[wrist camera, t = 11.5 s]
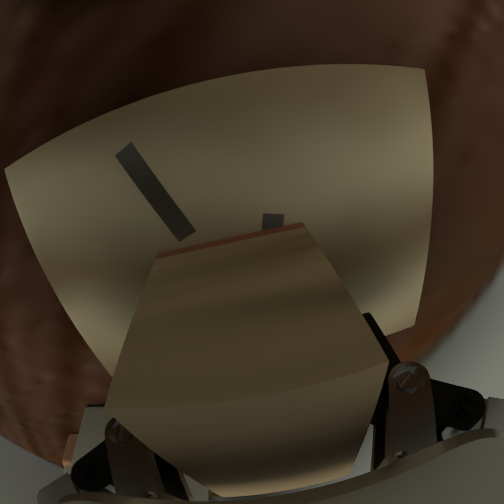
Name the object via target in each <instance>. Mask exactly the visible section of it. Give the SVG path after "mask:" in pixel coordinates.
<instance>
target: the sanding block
mask: <svg viewBox="0 0 504 504" xmlns="http://www.w3.org/2000/svg"><path fill="white" fill-rule="evenodd" d="M388 364H389V360H388V358H387V356H386V355H385V353H384V351H383V349H382V348H381V346H380V344H379V342H378V341H377V339H376V337H375V335H374V334H373V332H372V330H371V329H370V327H369V325H368V323H367V322H366V320H365V318H364V317H363V315H362V313H361V312H360V310H359V308H358V307H357V305H356V304H355V302H354V300H353V299H352V297H351V295H350V294H349V292H348V291H347V289H346V287H345V286H344V284H343V283H342V281H341V280H340V278H339V276H338V275H337V273H336V272H335V270H334V269H333V267H332V266H331V264H330V262H329V261H328V259H327V258H326V256H325V255H324V253H323V252H322V250H321V249H320V247H319V246H318V244H317V243H316V241H315V240H314V238H313V237H312V235H311V234H310V232H309V231H308V230H307V228H306V227H305V225H304V224H303V222H302V223H297V224H292V225H287V226H282V227H278V228H273V229H268V230H263V231H259V232H254V233H249V234H245V235H240V236H235V237H231V238H226V239H222V240H217V241H213V242H208V243H204V244H199V245H195V246H190V247H186V248H182V249H177V250H173V251H168V252H164V253H160V254H158V255H157V257H156V260H155V262H154V264H153V267H152V269H151V271H150V274H149V276H148V279H147V281H146V284H145V286H144V289H143V291H142V294H141V297H140V299H139V302H138V304H137V307H136V310H135V312H134V315H133V318H132V321H131V323H130V326H129V329H128V332H127V335H126V338H125V341H124V343H123V346H122V349H121V352H120V356H119V359H118V362H117V365H116V368H115V371H114V375H113V378H112V381H111V385H110V388H109V392H108V395H107V399H106V403H105V406H104V408H105V409H106V410H107V411H108V412H109V413H110V414H111V415H112V416H113V417H114V418H115V419H116V420H117V421H118V422H119V423H121V424H122V425H123V426H124V427H125V428H126V429H127V430H128V431H129V432H131V433H132V434H133V435H134V436H135V437H136V438H138V439H139V440H140V441H141V442H142V443H144V444H145V445H146V446H147V447H149V448H150V449H151V450H152V451H154V452H155V453H156V454H157V455H159V456H160V457H161V458H163V459H164V460H165V461H167V462H168V463H170V464H171V465H172V466H174V467H175V468H177V469H178V470H180V471H181V472H182V473H184V474H185V475H187V476H188V477H190V478H192V479H193V480H195V481H196V482H198V483H199V484H201V485H203V486H204V487H206V488H208V489H209V490H211V491H213V492H214V493H216V494H218V495H220V496H222V497H235V496H247V495H257V494H265V493H272V492H278V491H285V490H290V489H296V488H300V487H305V486H310V485H314V484H318V483H323V482H326V481H330V480H334V479H337V478H341V477H344V476H348V474H349V472H350V470H351V468H352V466H353V464H354V461H355V459H356V457H357V454H358V452H359V450H360V447H361V445H362V443H363V440H364V438H365V435H366V433H367V430H368V427H369V424H370V422H371V419H372V416H373V413H374V411H375V408H376V405H377V402H378V398H379V395H380V392H381V389H382V385H383V382H384V379H385V375H386V372H387V368H388Z"/></svg>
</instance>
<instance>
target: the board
mask: <svg viewBox="0 0 504 504" xmlns="http://www.w3.org/2000/svg"><path fill="white" fill-rule="evenodd" d="M4 170H5V173H6V177H7V180H8V184H9V187H10V190H11V193H12V196H13V199H14V202H15V205H16V208H17V211H18V213H19V216H20V219H21V221H22V224H23V226H24V229H25V231H26V234H27V236H28V239H29V241H30V243H31V245H32V248H33V250H34V252H35V254H36V256H37V259H38V261H39V263H40V265H41V267H42V269H43V271H44V273H45V275H46V277H47V279H48V280H49V282H50V284H51V286H52V288H53V290H54V292H55V293H56V295H57V297H58V299H59V300H60V302H61V304H62V305H63V307H64V309H65V310H66V312H67V314H68V315H69V317H70V319H71V320H72V322H73V323H74V325H75V326H76V328H77V329H78V331H79V332H80V334H81V335H82V337H83V338H84V340H85V341H86V343H87V344H88V346H89V347H90V348H91V350H92V351H93V353H94V354H95V355H96V357H97V358H98V359H99V361H100V362H101V363H102V365H103V366H104V367H105V369H106V370H107V371H108V372H109V374H110V375H111V376H112V377H113V375H114V371H115V368H116V365H117V362H118V359H119V356H120V352H121V349H122V346H123V343H124V341H125V338H126V335H127V332H128V329H129V326H130V323H131V321H132V318H133V315H134V312H135V310H136V307H137V304H138V302H139V299H140V297H141V294H142V291H143V289H144V286H145V284H146V281H147V279H148V276H149V274H150V271H151V269H152V267H153V264H154V262H155V260H156V257H157V255H158V254H160V253H164V252H168V251H173V250H177V249H182V248H186V247H190V246H195V245H199V244H204V243H208V242H213V241H217V240H222V239H226V238H231V237H235V236H240V235H245V234H249V233H254V232H259V231H263V230H268V229H273V228H278V227H282V226H287V225H292V224H297V223H302V222H303V224H304V225H305V227H306V228H307V230H308V231H309V232H310V234H311V235H312V237H313V238H314V240H315V241H316V243H317V244H318V246H319V247H320V249H321V250H322V252H323V253H324V255H325V256H326V258H327V259H328V261H329V262H330V264H331V266H332V267H333V269H334V270H335V272H336V273H337V275H338V276H339V278H340V280H341V281H342V283H343V284H344V286H345V287H346V289H347V291H348V292H349V294H350V295H351V297H352V299H353V300H354V302H355V304H356V305H357V307H358V308H359V310H360V312H361V313H362V314H364V313H367V312H369V313H370V314H371V315H372V316H373V318H374V319H375V321H376V322H377V324H378V326H379V327H380V329H381V330H382V332H383V334H384V335H385V336H386V335H389V334H392V333H395V332H398V331H400V330H403V329H406V328H408V327H411V326H414V324H415V320H416V315H417V311H418V307H419V302H420V297H421V292H422V287H423V281H424V275H425V269H426V263H427V255H428V248H429V239H430V229H431V217H432V201H433V141H432V126H431V114H430V105H429V96H428V89H427V82H426V76H425V71H424V69H419V68H410V67H401V66H389V65H370V64H326V65H307V66H294V67H284V68H275V69H267V70H260V71H254V72H247V73H242V74H236V75H231V76H226V77H221V78H216V79H212V80H207V81H203V82H199V83H195V84H191V85H187V86H184V87H180V88H177V89H173V90H170V91H166V92H163V93H160V94H157V95H154V96H151V97H148V98H145V99H142V100H139V101H136V102H134V103H131V104H128V105H126V106H123V107H120V108H118V109H115V110H113V111H110V112H108V113H106V114H103V115H101V116H99V117H96V118H94V119H92V120H90V121H88V122H86V123H83V124H81V125H79V126H77V127H75V128H73V129H71V130H69V131H67V132H65V133H63V134H61V135H59V136H58V137H56V138H54V139H52V140H50V141H49V142H47V143H45V144H43V145H41V146H40V147H38V148H36V149H35V150H33V151H31V152H30V153H28V154H27V155H25V156H23V157H22V158H20V159H19V160H17V161H16V162H14V163H13V164H11V165H10V166H8V167H7V168H5V169H4Z"/></svg>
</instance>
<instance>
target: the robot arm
mask: <svg viewBox="0 0 504 504" xmlns="http://www.w3.org/2000/svg"><path fill="white" fill-rule="evenodd" d="M362 315H363V317H364V318H365V320H366V322H367V323H368V325H369V327H370V329H371V330H372V332H373V334H374V335H375V337H376V339H377V341H378V342H379V344H380V346H381V348H382V349H383V351H384V353H385V355H386V356H387V358H388V360H389V364H388V368H387V372H386V375H385V379H384V382H383V385H382V389H381V392H380V395H379V398H378V402H377V405H376V408H375V411H374V413H373V416H372V419H371V422H370V424H372V425H374V427H373V445H372V459H371V470H370V472H368V473H365V474H363V475H360V476H357V477H353V478H350V479H347V480H344V481H340V482H337V483H333V484H329V485H326V486H322V487H318V488H314V489H309V490H304V491H299V492H295V493H289V494H283V495H277V496H270V497H263V498H255V499H244V500H230V501H195V500H194V498H193V496H192V494H191V491H190V489H189V487H188V484H187V482H186V479H185V477H184V475H183V473H182V472H181V471H180V470H178V469H177V468H175V467H174V466H172V465H171V464H170V463H168V462H167V461H165V460H164V459H163V458H161V457H160V456H159V455H157V454H156V453H155V452H154V451H152V450H151V449H150V448H149V447H147V446H146V445H145V444H144V443H142V442H141V441H140V440H139V439H138V438H136V437H135V436H134V435H133V434H132V433H131V432H129V431H128V430H127V429H126V428H125V427H124V426H123V425H122V424H121V423H119V422H118V421H117V420H116V419H115V418H114V417H113V418H112V419H111V420H110V421H109V422H108V423H107V425H106V428H105V440H104V441H103V442H101V443H100V444H99V445H97V446H96V447H95V448H93V449H92V450H91V451H89V452H88V453H87V454H85V455H84V456H83V457H81V458H80V459H79V460H77V461H76V462H75V463H74V464H73V466H72V468H71V474H69V473H66V474H64V475H63V476H61V477H60V478H58V479H56V480H55V481H53V482H52V483H50V484H49V485H47V486H45V487H44V488H42V489H41V490H40V491H39V493H38V495H37V501H38V504H504V399H498V398H493V397H489V398H488V399H484V398H483V396H482V395H481V394H480V393H479V392H477V391H475V390H472V389H469V388H464V387H461V386H456V385H452V384H449V383H444V382H441V381H437V380H433V379H430V376H429V373H428V371H427V369H426V368H425V367H424V366H423V365H421V364H420V363H417V362H413V361H406V362H400V360H399V358H398V357H397V355H396V353H395V352H394V350H393V348H392V347H391V345H390V343H389V342H388V340H387V338H386V337H385V335H384V334H383V332H382V330H381V329H380V327H379V326H378V324H377V322H376V321H375V319H374V318H373V316H372V315H371V314H370V313H369V312H367V313H364V314H362Z"/></svg>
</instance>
